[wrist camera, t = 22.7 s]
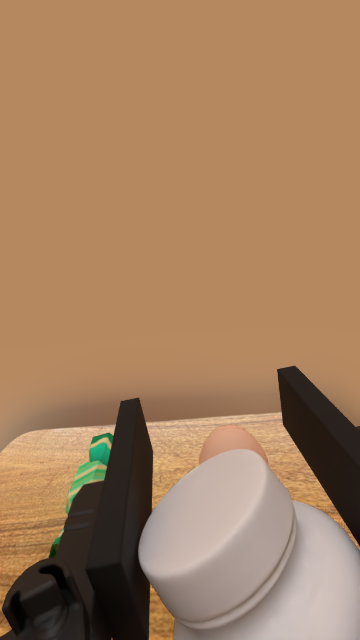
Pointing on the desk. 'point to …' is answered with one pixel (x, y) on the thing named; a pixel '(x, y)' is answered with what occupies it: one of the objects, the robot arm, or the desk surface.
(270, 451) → the desk surface
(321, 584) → the pill bottle
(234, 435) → the egg
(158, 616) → the desk surface
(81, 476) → the candy
